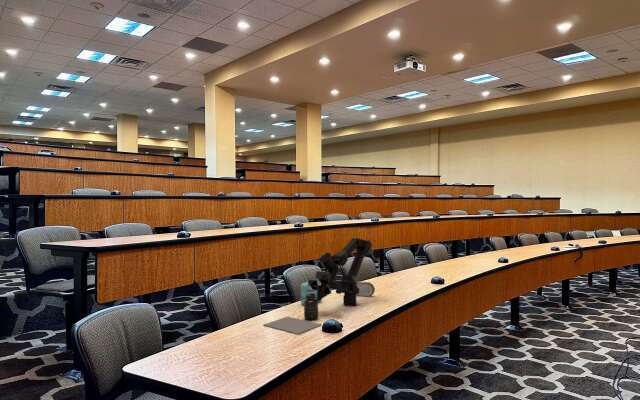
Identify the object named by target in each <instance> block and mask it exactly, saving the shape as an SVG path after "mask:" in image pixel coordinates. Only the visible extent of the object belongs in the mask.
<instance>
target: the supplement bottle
mask: <svg viewBox="0 0 640 400" xmlns="http://www.w3.org/2000/svg"><path fill="white" fill-rule="evenodd" d="M315 298H316V295H315V294H313V293H309V294H306V300H305V301H304V305H303V318H304V319H303V320H305V321H309V322H313V321H317V320H319V303H318V301H317V300H316V299H315Z"/></svg>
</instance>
